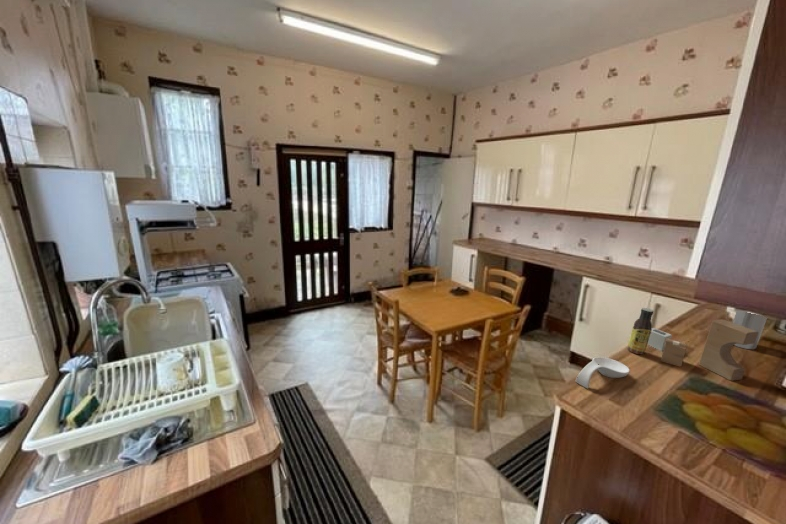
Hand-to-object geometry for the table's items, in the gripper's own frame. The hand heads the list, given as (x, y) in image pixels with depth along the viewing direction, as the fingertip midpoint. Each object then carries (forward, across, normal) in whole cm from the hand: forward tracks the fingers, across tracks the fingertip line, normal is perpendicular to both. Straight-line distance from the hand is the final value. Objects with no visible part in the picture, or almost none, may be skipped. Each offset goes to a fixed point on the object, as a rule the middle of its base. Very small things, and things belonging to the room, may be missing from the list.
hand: (744, 295), depth 114 cm
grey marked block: (+32, +21, -3) cm, 39 cm away
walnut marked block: (+32, +13, +6) cm, 35 cm away
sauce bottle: (+32, +24, +10) cm, 42 cm away
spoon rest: (+33, +24, +43) cm, 59 cm away
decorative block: (+32, 0, 0) cm, 32 cm away
